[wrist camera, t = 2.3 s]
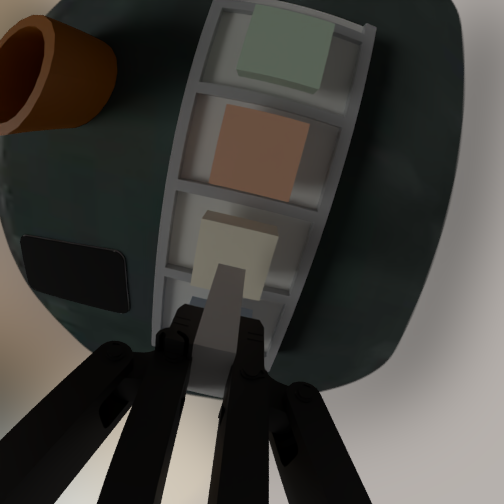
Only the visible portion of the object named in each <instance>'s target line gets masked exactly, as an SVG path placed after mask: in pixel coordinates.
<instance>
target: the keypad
mask: <svg viewBox="0 0 504 504" xmlns="http://www.w3.org/2000/svg"><path fill="white" fill-rule="evenodd" d="M256 4H259V5H265V6H270V7H275V8H280V9H284V10H289V11H293V12H297V13H301V14H304V15H308V16H312V17H315V18H318V19H322V20H325V21H328V22H331V23H334V24H335V27H334V31H333V36H332V40H331V44H330V48H329V52H328V56H327V60H326V64H325V68H324V72H323V76H322V80H321V84H320V88H319V90H318V91H317V92H315V93H314V94H310V93H306V92H303V91H300V90H296V89H292V88H289V87H285V86H281V85H277V84H273V83H269V82H264V81H260V80H255V79H250V78H245V77H240V76H238V73H237V70H236V67H237V64H238V60H239V57H240V53H241V50H242V47H243V43H244V40H245V37H246V33H247V30H248V27H249V24H250V21H251V17H252V14H253V11H254V8H255V5H256ZM376 28H377V27H374V26H372V25H370V24H367V23H366V24H365V25H364V26H360V25H358V24H355V23H353V22H350V21H347V20H345V19H342V18H339V17H336V16H333V15H330V14H327V13H324V12H321V11H317V10H314V9H310V8H307V7H303V6H299V5H295V4H291V3H287V2H282V1H278V0H213V2H212V5H211V8H210V10H209V13H208V16H207V19H206V22H205V25H204V28H203V31H202V34H201V37H200V40H199V43H198V46H197V50H196V53H195V56H194V60H193V63H192V67H191V70H190V74H189V77H188V81H187V85H186V89H185V93H184V97H183V101H182V105H181V109H180V113H179V118H178V122H177V127H176V132H175V136H174V141H173V146H172V152H171V157H170V162H169V168H168V174H167V180H166V186H165V192H164V199H163V206H162V213H161V221H160V229H159V238H158V247H157V257H156V268H155V281H154V296H153V315H152V346H155V339H156V334H157V332H158V331H159V330H161V329H163V328H168V327H170V325H171V323H172V320H173V318H174V316H175V314H176V311H177V309H178V308H179V307H181V306H182V305H183V304H189V303H190V301H191V298H192V296H195V297H199V298H203V299H207V298H208V295H209V292H210V290H208V289H204V288H200V287H196V286H191V285H190V284H191V277H192V271H193V265H194V259H195V253H196V247H197V241H198V235H199V230H200V224H201V219H202V217H203V216H204V214H205V213H206V211H207V210H210V211H214V212H219V213H223V214H228V215H232V216H236V217H240V218H245V219H249V220H253V221H257V222H261V223H266V224H270V225H274V226H277V229H278V235H279V237H278V241H277V244H276V247H275V251H274V254H273V257H272V261H271V264H270V268H269V271H268V274H267V278H266V281H265V284H264V287H263V291H262V294H261V297H260V301H257V300H252V299H247V298H243V297H242V306H241V307H242V308H247V309H251V310H253V311H252V318H253V319H258V320H260V321H261V323H262V325H263V326H264V366H265V369H266V371H268V372H269V370H270V368H271V366H272V364H273V361H274V359H275V356H276V354H277V352H278V349H279V347H280V345H281V342H282V340H283V337H284V335H285V332H286V330H287V327H288V325H289V322H290V320H291V317H292V315H293V312H294V310H295V307H296V305H297V302H298V299H299V297H300V294H301V291H302V289H303V286H304V283H305V281H306V278H307V275H308V273H309V270H310V267H311V264H312V262H313V259H314V256H315V253H316V250H317V247H318V244H319V242H320V239H321V236H322V233H323V230H324V227H325V224H326V221H327V218H328V215H329V212H330V208H331V205H332V202H333V199H334V196H335V193H336V189H337V186H338V183H339V179H340V176H341V173H342V169H343V166H344V163H345V159H346V156H347V152H348V149H349V145H350V141H351V138H352V134H353V130H354V126H355V123H356V119H357V115H358V111H359V107H360V103H361V99H362V95H363V90H364V86H365V82H366V77H367V73H368V68H369V64H370V59H371V54H372V49H373V44H374V39H375V34H376ZM227 104H230V105H236V106H241V107H245V108H250V109H254V110H259V111H263V112H267V113H271V114H275V115H279V116H283V117H287V118H291V119H294V120H298V121H301V122H305V123H308V124H310V126H309V130H308V134H307V138H306V141H305V145H304V149H303V152H302V156H301V160H300V163H299V167H298V170H297V174H296V178H295V181H294V185H293V188H292V192H291V195H290V199H289V202H285V201H281V200H277V199H273V198H269V197H265V196H261V195H257V194H253V193H249V192H245V191H240V190H236V189H232V188H227V187H223V186H218V185H214V184H209V178H210V174H211V169H212V164H213V160H214V155H215V151H216V146H217V142H218V138H219V133H220V129H221V125H222V121H223V117H224V113H225V109H226V105H227Z"/></svg>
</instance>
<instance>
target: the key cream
mask: <svg viewBox="0 0 504 504" xmlns="http://www.w3.org/2000/svg"><path fill="white" fill-rule="evenodd" d="M278 237H279V235H278V229H277V226H274V225H270V224H266V223H261V222H257V221H253V220H249V219H245V218H240V217H236V216H232V215H228V214H223V213H219V212H214V211H210V210H207V211H206V213H205V214H204V216H203V217H202V219H201V224H200V230H199V235H198V241H197V247H196V253H195V259H194V265H193V271H192V277H191V284H190V285H191V286H196V287H200V288H204V289H208V290H210V289H211V286H212V282H213V279H214V276H215V273H216V270H217V267H218V264H219V263H220V264H224V265H228V266H233V267H237V268H241V269H246V271H245V280H244V289H243V298H247V299H252V300H257V301H260V297H261V294H262V291H263V287H264V284H265V281H266V278H267V274H268V271H269V268H270V264H271V261H272V257H273V254H274V251H275V247H276V244H277V241H278Z"/></svg>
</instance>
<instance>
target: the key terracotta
mask: <svg viewBox="0 0 504 504" xmlns="http://www.w3.org/2000/svg"><path fill="white" fill-rule="evenodd" d="M309 126H310V124H308V123H305V122H301V121H298V120H294V119H291V118H287V117H283V116H279V115H275V114H271V113H267V112H263V111H259V110H254V109H250V108H245V107H241V106H236V105H230V104H227V105H226V109H225V113H224V117H223V121H222V125H221V129H220V133H219V138H218V142H217V146H216V151H215V155H214V160H213V164H212V169H211V174H210V178H209V184H214V185H218V186H223V187H227V188H232V189H236V190H240V191H245V192H249V193H253V194H257V195H261V196H265V197H269V198H273V199H277V200H281V201H285V202H289V199H290V195H291V192H292V188H293V185H294V181H295V178H296V174H297V170H298V167H299V163H300V160H301V156H302V152H303V149H304V145H305V141H306V138H307V134H308V130H309Z"/></svg>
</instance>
